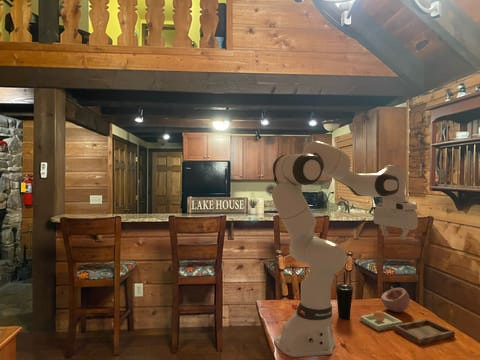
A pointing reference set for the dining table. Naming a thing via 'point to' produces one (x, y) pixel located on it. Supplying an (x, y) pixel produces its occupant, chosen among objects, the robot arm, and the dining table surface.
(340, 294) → the drinking cup
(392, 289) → the mortar and pestle
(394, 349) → the dining table surface
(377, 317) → the ball
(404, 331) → the dish
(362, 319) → the tray
